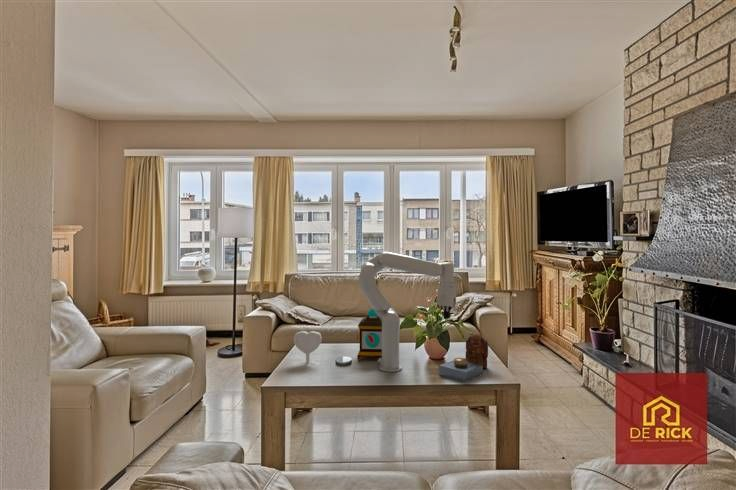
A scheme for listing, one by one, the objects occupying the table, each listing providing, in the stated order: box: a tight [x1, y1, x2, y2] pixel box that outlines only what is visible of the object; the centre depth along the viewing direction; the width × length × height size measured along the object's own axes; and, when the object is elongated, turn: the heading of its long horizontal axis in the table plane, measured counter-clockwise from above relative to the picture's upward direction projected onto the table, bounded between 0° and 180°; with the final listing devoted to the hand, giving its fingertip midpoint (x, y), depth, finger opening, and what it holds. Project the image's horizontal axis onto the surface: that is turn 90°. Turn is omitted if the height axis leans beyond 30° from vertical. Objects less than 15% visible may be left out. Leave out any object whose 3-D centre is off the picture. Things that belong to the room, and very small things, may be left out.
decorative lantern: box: [356, 307, 382, 362], centre depth 252 cm, size 20×20×30 cm
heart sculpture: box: [293, 330, 323, 366], centre depth 240 cm, size 16×5×18 cm, turn 87°
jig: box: [438, 359, 484, 383], centre depth 219 cm, size 16×16×5 cm
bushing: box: [453, 357, 467, 367], centre depth 219 cm, size 7×7×8 cm
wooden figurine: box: [465, 334, 489, 369], centre depth 231 cm, size 12×6×18 cm, turn 79°
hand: (446, 318), depth 232 cm, fingers closed
